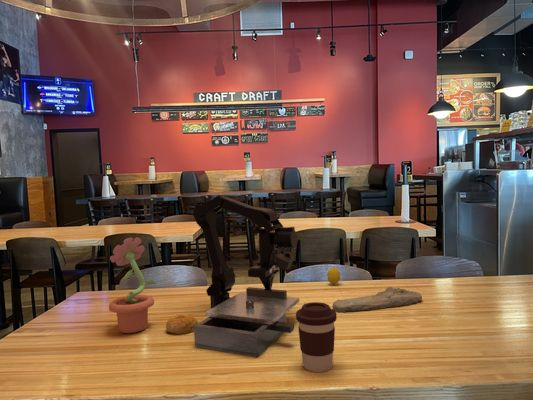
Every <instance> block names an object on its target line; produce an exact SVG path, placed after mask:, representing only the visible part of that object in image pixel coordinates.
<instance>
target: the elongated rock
mask: <svg viewBox="0 0 533 400" xmlns="http://www.w3.org/2000/svg"><path fill="white" fill-rule="evenodd" d="M422 299H423V296H422V294H421V293H420V292H417V291H412V290H411V291H410V290H407V289H405V288H400V287H397V288H395V287H392V286H388V287H386V288H385V290H383V291H380V292H377V293H376V294H374V295H371V296H370V295H366V296H359V297H353V298H351V297H350V298H344V299H337V300H335V301H333V303H332V309H333V310H334V311H335V312H336V313H338V314H339V313H346V312H350V313H351V312H358V311H359V312H360V311H361V312H363V311H371V310H373V311H374V310H383V309H386V308H391V307H392V308H394V307H395V308H396V307H401V306H408V305H409V306H410V305H413V304H415V303H419V302H421V301H422Z"/></svg>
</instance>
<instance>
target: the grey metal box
mask: <svg viewBox="0 0 533 400" xmlns="http://www.w3.org/2000/svg"><path fill="white" fill-rule="evenodd" d="M294 330H295V323H294V322H287V312H286V313H285V314H284V315H283V316H282V317H281V318H279V319H278V320H277V321H276V322H275V323H273V324H272V325H271V324H263V323H255V322H248V321H240V320H232V319H225V318H217V317H209V316H207V318H205V319H203V320H201V321H200V322H198V324H196V325H195V326H194V331H193V338H194V340H193V341H194V347H195V348H200V349H205V350H212V351H218V352H223V353H228V354H229V353H230V354H236V355H240V356H241V355H242V356H248V357H253V358H259V357H260V356H261V355H263V353H264V352H266V350H268V349H269V348H270V347H271V346H272V345H273V344H274V343H275V342H276V341H277V340H278V339H279V338H280V337H281V336H282V335H283V334H284V333H288V334H291V333H292V332H293V331H294Z"/></svg>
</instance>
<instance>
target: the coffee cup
mask: <svg viewBox="0 0 533 400" xmlns="http://www.w3.org/2000/svg"><path fill="white" fill-rule="evenodd" d="M295 320H296V321H297V322H298V327H297V329H298V336H299V349H300V351H301V358H302V359H301V360H302V365H303V368H305V369H306V370H307V371H309V372H312V373H324V372H327V371H329V370H330V369H332V367H333V362H334V361H333V359H334V350H335V332H336V331H335V330H336V327H335V322H336V321H337V320H338V319H337V312H335V311H334V310H333V308H331V307H330V305H329V304H327V303H324V302H317V301H315V302H314V301H313V302H308V303H304V304H303V305H302V306H301V308H299V309H297V311H296V312H295Z"/></svg>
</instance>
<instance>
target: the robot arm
mask: <svg viewBox="0 0 533 400" xmlns="http://www.w3.org/2000/svg"><path fill="white" fill-rule="evenodd" d="M221 210H226V211H229V212H232V213H234V214H237V215H238V216H239V215H240V216H241V217H245V218H246V219H248V220H249V221H250V222H251V223H253V224H254V225H255V228H254V229H253V230H252V232H251V233H252V234H256V235H257V236H258V237H257V238H258V239H257V240H258V249H256V254H258V261H257V262H256V265H253V266H252V267H250V268H249V269H248V270H247V276H248V277H249V278H258V279H259V280H260V282H261V284H262V285H263V288H264V289H272V288H273V284H274V283H273V282H274V280H275V276H276V275H277V274H278V273H279V272H280V271H281V270H283V271H288V270H290V269H291V266H292V264H293V263H294V258H293V254H292V253H291V252H289V251H288V252H286V253H283V254H281V253H280V252H279V249H278V248H288V249H289V248H290V249H291V248H292V249H293V248H294V249H295V248H296V247H297V245H298V242H299V241H298V240H299V238H298V237H299V236H298V234H297V233H298V232H297V231H296V229H295V226H289V227H287V226H285V227H284V225H283V224H282V222H281V221H280V219H278V216H277V213H276V211H275V210H274V209H272V208H266V207H256V206H252V205H250V204H248V203H244V202H242V201H239V200H236V199H234V198H231V197H229V196H227V195H225V194H224V195H223V194H222V195H217V196H215V197H213V198H212V199H210V200H208V201H206V202H205V201H204V202H203V203H201V204H196V205H195V206H194V207H193V210H192V216H193V219H194V220H195V221H194V222H195V223H196V224H197V226H198V227H200V228H201V230H202V232H203V233H202V234H203V237H204V241H205V243H206V244H205V245H206V247H207V252H208V255H209V258H210V261H211V266H212V271H211V275H210V277H211V284H210V285H209V287H208V288H207V289H206V291H205V292H206V294H207V296H209V297H210V308H209V309H208V310H210V309H212V308H213V307H215V306H217V305H219V304H221V303H222V302H224V301H226V300H228V299H229V298H231V297H230V292H231V291H232V289H233V286H234V285H235V283H236V278H237V276H236V275H235V271H234V270H235V269H234V267H233V266H230V267H229V265H228V264H227V262H226V259H225V256H224V252H223V249H222V246H221V245H222V244H221V242H220V238H219V235H218V231H217V227H216V224H217V218H218V215H217V213H218V212H221ZM276 247H277V248H276ZM276 267H278V268H280V269H281V270H280V269H277V268H276Z"/></svg>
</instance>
